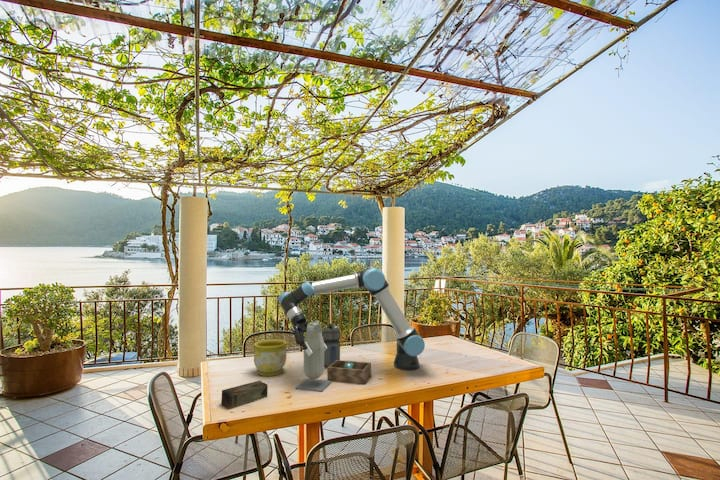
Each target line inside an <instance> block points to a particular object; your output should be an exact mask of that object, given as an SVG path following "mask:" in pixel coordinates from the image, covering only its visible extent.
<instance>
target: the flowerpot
mask: <svg viewBox="0 0 720 480" xmlns="http://www.w3.org/2000/svg"><path fill="white" fill-rule="evenodd" d="M287 344H288V343H287V341H286V340H284V339H275V338H274V339H264V340H259V341H257V342H254V343H253V347H254V353H253V354H254V355H253V363H254V366H255V368H256V372H257V373H258V375H260V376H264V377H273V376H277V375H280V374H281V373H282V372H283V370H284V366H285V364H286V363H287V362H286V361H287Z"/></svg>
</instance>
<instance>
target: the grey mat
mask: <svg viewBox="0 0 720 480" xmlns="http://www.w3.org/2000/svg"><path fill="white" fill-rule="evenodd" d="M332 383H333V381H328V380H327V379H319V378H318V379H310V378H308V377H307V378H306V379H304V380H303V381H302V382H300V383H299V384H298V385H297V386H296V387H295V389H296V390H302V391H311V392H312V391H313V392H320V393H322V392H323V391H325V390H326V389H327V388H328V387H329V386H330V385H331V384H332Z"/></svg>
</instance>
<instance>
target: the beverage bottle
mask: <svg viewBox="0 0 720 480" xmlns="http://www.w3.org/2000/svg"><path fill="white" fill-rule="evenodd" d="M322 334H323V341H324V343H325V345H326V346H327V349H326V350H325V351H324V369H327V367H328V366H330V365H331V364H332V363H333V362H335V361H336V360H341V341H340V339H341V328H340V327H338V328H335V324H332V323H328V324H327V328H323V331H322Z"/></svg>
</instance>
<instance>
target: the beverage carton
mask: <svg viewBox="0 0 720 480" xmlns="http://www.w3.org/2000/svg"><path fill="white" fill-rule="evenodd" d="M268 385H269V384H268V383H265V382H263V381H262V380H257V381H253V382H247V383H245V384H240V385H237V386H233V387H229V388H225V389H222V390H221V402H220V403H221V405H222V406H224V407H225V408H227V409H228V410H230V409H233V407H234V408H236V406H237V407H240V406H242V405H246V404H249V403H252V402H256V401H258V399H259V400H261V398H262V399H263V398H264V397H265V398H267V397H268V389H269V388H268V387H269V386H268ZM265 398H264V399H265ZM255 400H256V401H255ZM239 405H240V406H239Z"/></svg>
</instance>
